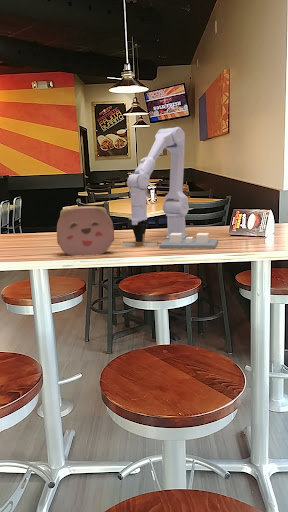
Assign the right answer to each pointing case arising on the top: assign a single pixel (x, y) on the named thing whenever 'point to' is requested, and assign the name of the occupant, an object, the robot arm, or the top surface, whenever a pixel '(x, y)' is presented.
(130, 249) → the top surface
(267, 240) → the top surface
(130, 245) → the brown and white bar
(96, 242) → the face sculpture
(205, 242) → the display stand
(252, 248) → the top surface
